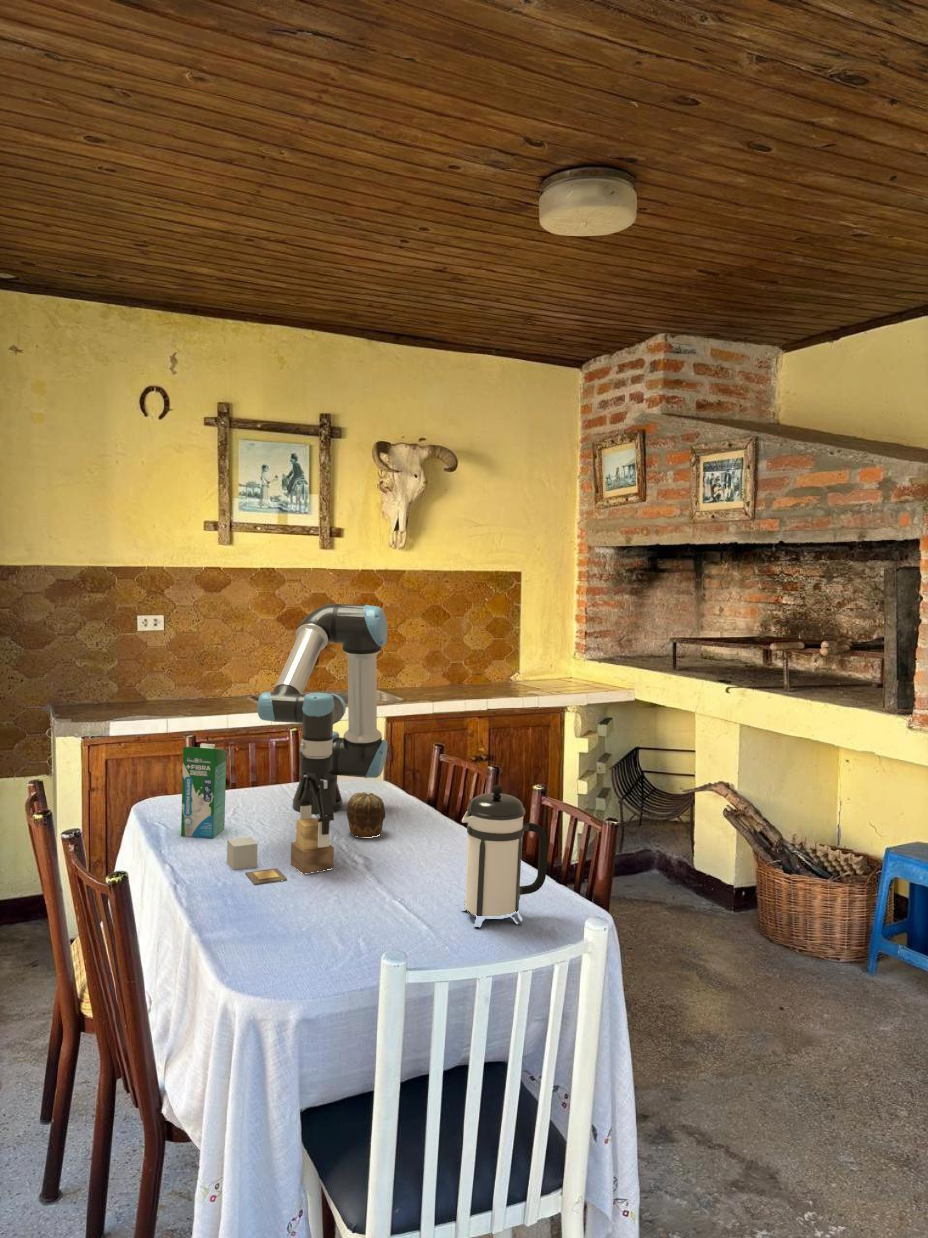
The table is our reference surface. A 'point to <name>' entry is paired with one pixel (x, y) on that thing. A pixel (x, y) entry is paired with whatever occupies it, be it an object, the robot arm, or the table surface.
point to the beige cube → (242, 853)
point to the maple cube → (307, 833)
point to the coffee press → (498, 854)
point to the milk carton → (203, 791)
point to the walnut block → (311, 858)
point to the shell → (365, 814)
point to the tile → (265, 876)
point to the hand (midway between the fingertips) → (314, 838)
